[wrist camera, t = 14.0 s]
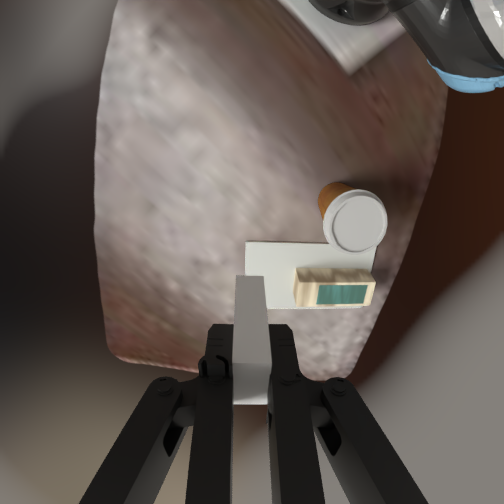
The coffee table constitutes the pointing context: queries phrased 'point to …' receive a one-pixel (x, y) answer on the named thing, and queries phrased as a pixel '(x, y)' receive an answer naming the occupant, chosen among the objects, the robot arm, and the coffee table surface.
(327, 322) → the coffee table surface
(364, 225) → the disposable coffee cup
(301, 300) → the block
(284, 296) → the mat
